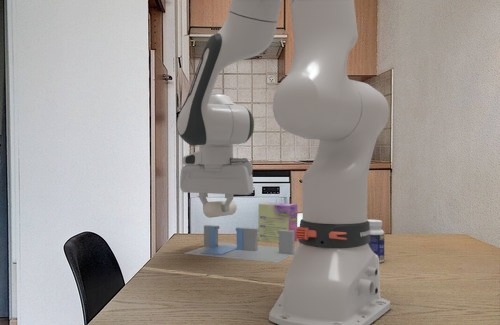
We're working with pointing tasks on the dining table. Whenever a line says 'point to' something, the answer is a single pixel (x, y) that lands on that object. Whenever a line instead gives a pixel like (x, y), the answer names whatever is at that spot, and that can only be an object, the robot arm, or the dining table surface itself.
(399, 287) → the dining table surface
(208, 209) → the cream bolster roll
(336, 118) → the robot arm
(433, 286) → the dining table surface
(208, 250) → the base plate with posts
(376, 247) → the pill bottle
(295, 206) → the box
